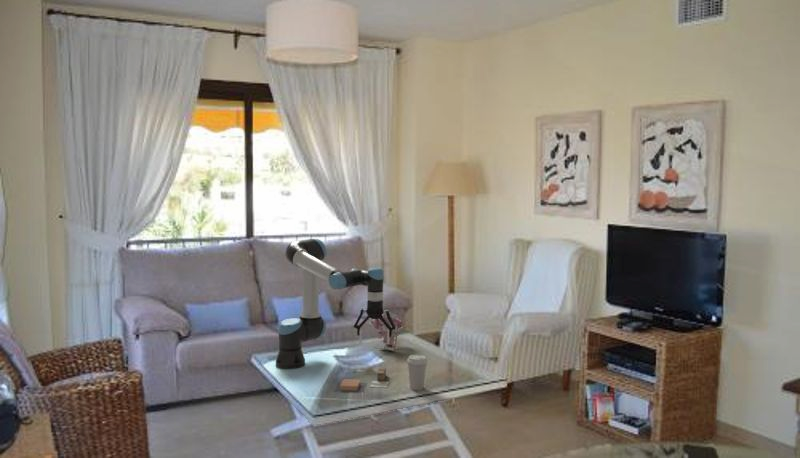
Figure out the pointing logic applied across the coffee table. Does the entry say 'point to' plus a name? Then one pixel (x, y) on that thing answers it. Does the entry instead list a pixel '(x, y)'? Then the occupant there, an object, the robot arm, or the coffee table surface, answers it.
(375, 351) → the coffee table surface
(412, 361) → the coffee cup
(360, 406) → the coffee table surface
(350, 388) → the tile
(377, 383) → the tapered wooden block
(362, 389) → the mat
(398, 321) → the flower
